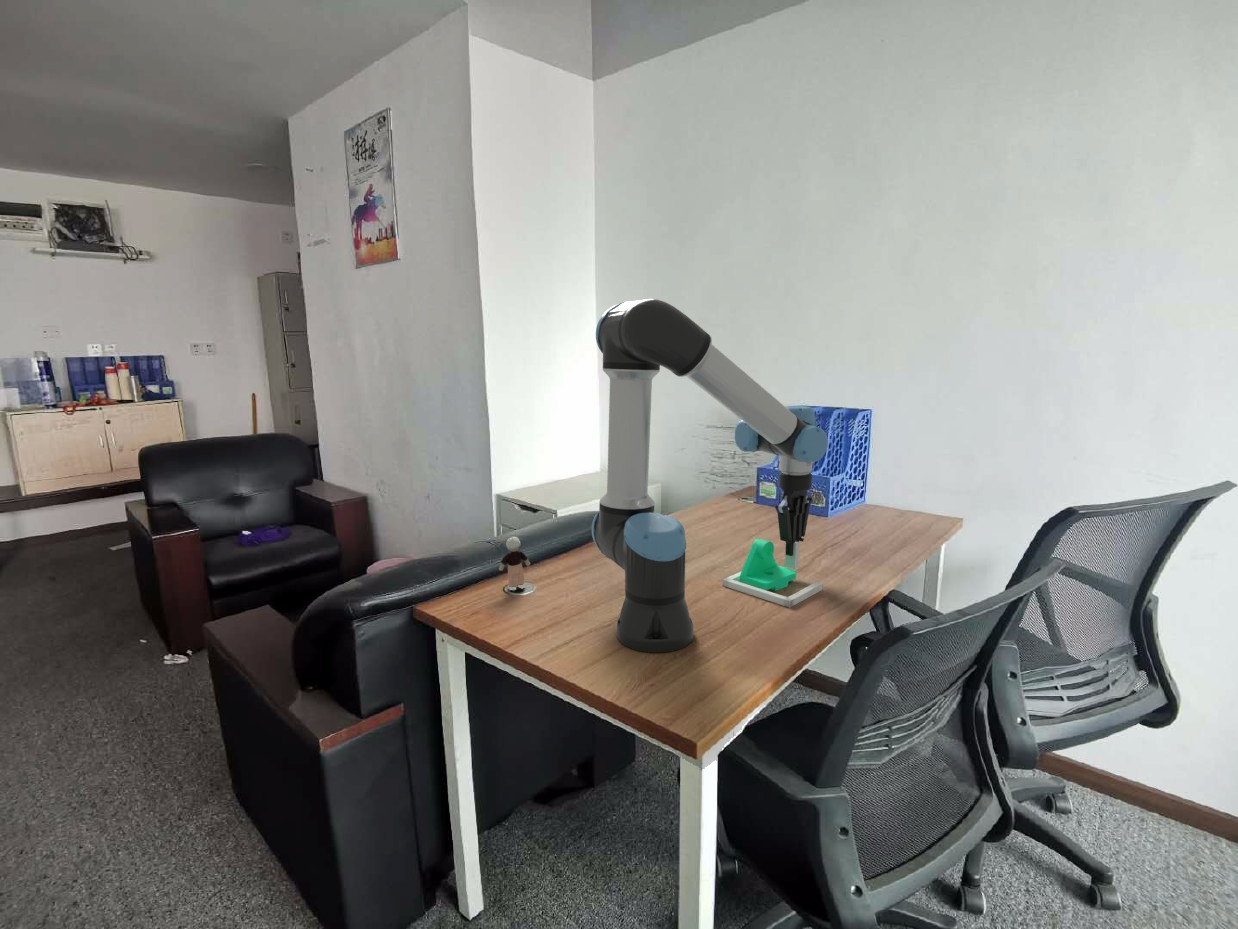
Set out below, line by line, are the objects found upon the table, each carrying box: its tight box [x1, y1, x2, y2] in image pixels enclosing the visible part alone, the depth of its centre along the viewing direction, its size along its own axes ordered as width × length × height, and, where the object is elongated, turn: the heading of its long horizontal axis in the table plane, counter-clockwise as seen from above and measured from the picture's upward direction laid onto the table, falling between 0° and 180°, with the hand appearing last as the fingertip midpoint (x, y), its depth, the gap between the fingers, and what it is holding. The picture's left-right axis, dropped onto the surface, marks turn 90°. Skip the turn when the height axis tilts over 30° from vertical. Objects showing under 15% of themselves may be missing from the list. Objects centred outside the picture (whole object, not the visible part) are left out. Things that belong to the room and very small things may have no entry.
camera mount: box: [740, 538, 797, 591], centre depth 149 cm, size 12×8×10 cm, turn 129°
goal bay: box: [721, 571, 823, 609], centre depth 147 cm, size 14×18×2 cm
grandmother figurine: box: [498, 536, 531, 588], centre depth 147 cm, size 8×4×13 cm, turn 134°
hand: (791, 566), depth 152 cm, fingers closed
